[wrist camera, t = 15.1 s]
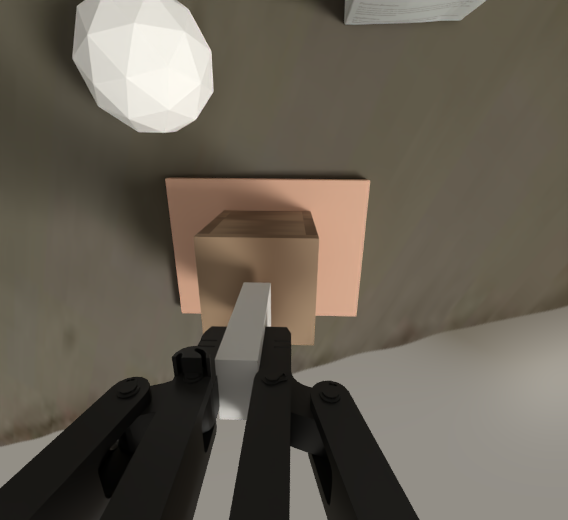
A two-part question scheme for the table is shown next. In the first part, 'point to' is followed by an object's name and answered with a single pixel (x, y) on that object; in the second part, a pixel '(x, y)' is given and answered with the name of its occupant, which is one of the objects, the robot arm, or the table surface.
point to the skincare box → (406, 11)
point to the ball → (143, 61)
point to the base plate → (277, 197)
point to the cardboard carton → (260, 267)
